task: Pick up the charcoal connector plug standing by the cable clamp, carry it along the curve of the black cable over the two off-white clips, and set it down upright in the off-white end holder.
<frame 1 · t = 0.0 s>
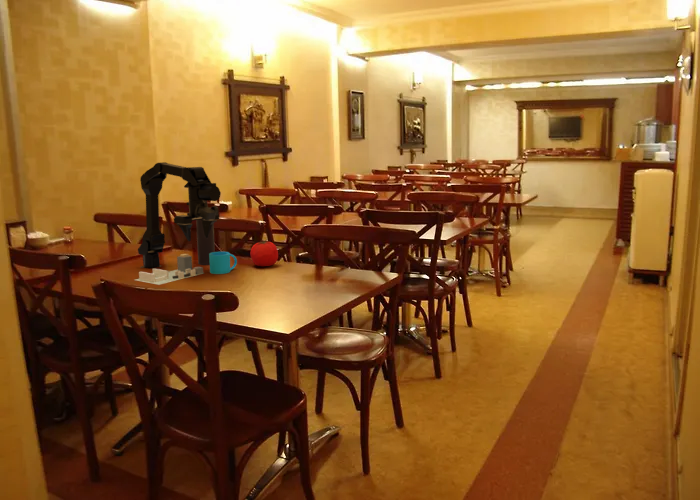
hand: (198, 239, 233), 15 cm above the table, fingers open, 9 cm apart
route board: (170, 277, 232), on the table
cable: (184, 275, 232), on the route board, point 1 cm above the table
tomato: (264, 266, 254), on the table
connector: (185, 270, 242), point 1 cm above the table, touching route board
mug: (224, 273, 242), on the table
wine bottle: (206, 265, 257), on the table
holder: (154, 279, 227), resting on route board
clamp and clips: (188, 272, 233), on the route board, point 1 cm above the table
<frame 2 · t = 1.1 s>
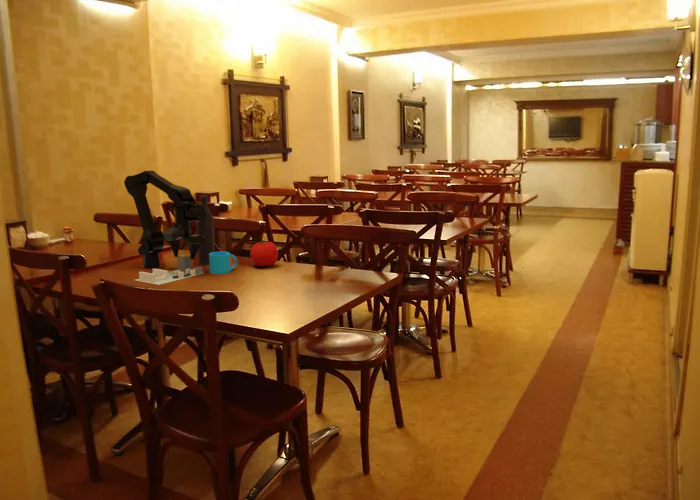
hand: (184, 258, 241), 6 cm above the table, fingers open, 9 cm apart
nothing on the table moved.
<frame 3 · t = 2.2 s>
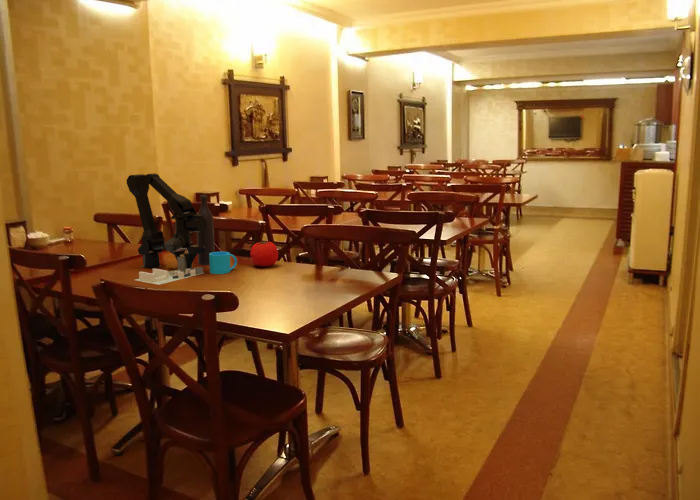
hand: (184, 268, 242), 2 cm above the table, fingers closed on connector, 4 cm apart
connector: (185, 270, 242), point 1 cm above the table, touching gripper, route board
everything else where it was.
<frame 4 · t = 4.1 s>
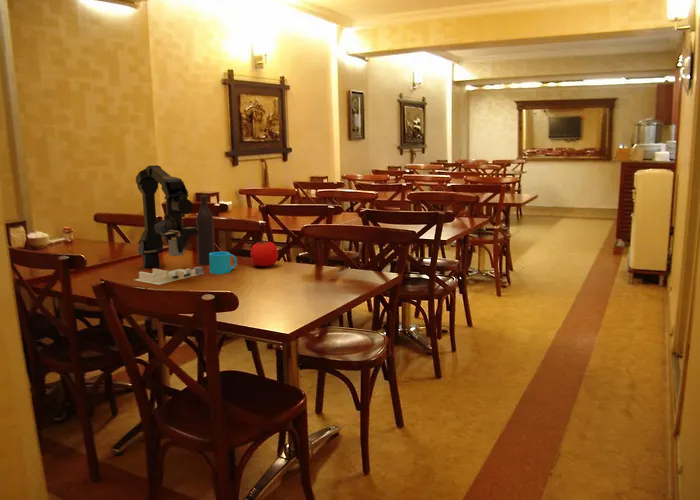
hand: (176, 252, 228), 11 cm above the table, fingers closed on connector, 4 cm apart
connector: (176, 254, 229), point 10 cm above the table, touching gripper
everything else where it was.
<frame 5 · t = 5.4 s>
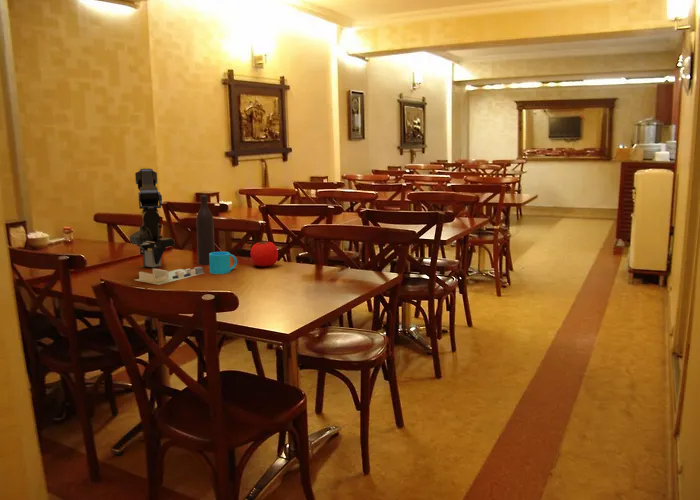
hand: (153, 263, 226), 7 cm above the table, fingers closed on connector, 4 cm apart
connector: (153, 265, 227), point 6 cm above the table, touching gripper
everything else where it was.
when the fingers open (3 cm above the table, at t = 6.4 s): connector drops 1 cm, resting on route board.
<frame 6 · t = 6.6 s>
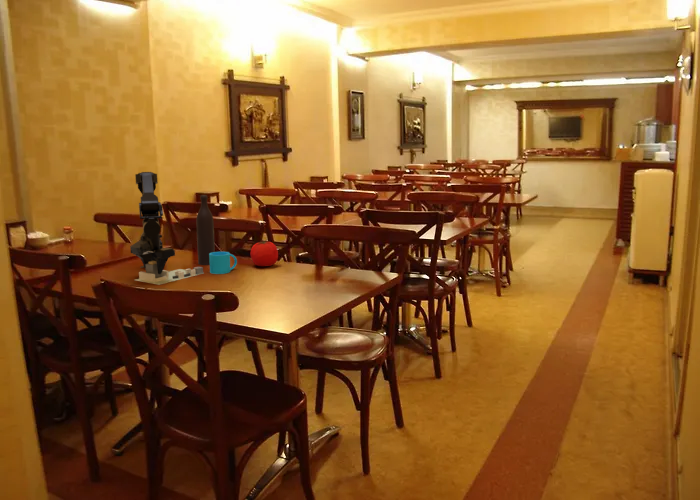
hand: (153, 273, 227), 3 cm above the table, fingers open, 6 cm apart
connector: (154, 279, 228), point 1 cm above the table, touching route board
everything else where it was.
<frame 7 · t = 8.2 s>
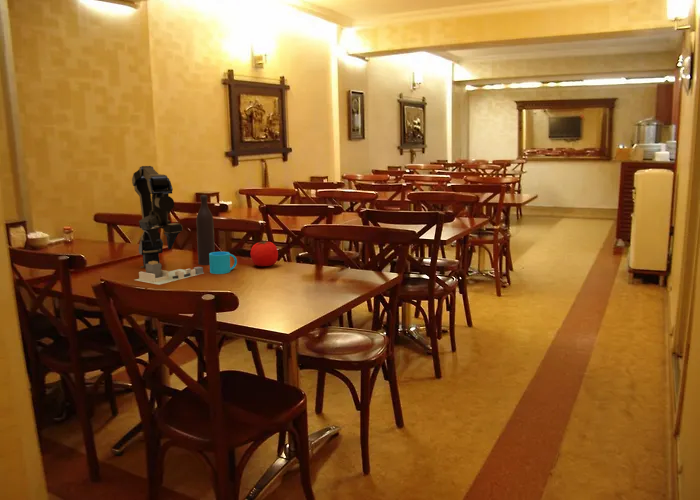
hand: (161, 247, 232), 12 cm above the table, fingers open, 9 cm apart
nothing on the table moved.
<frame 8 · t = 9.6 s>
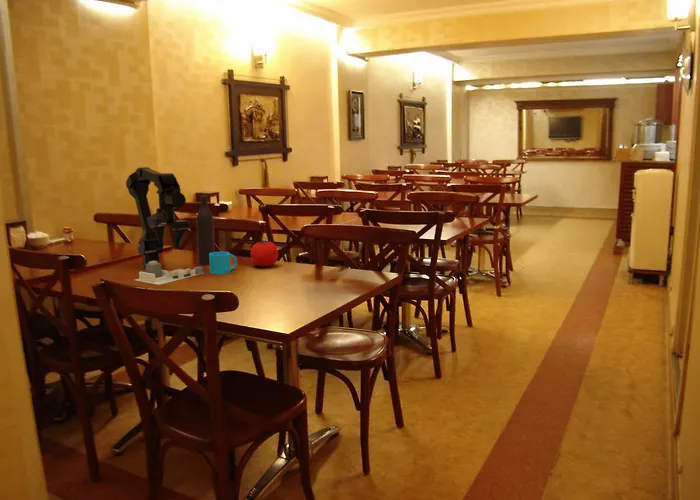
hand: (168, 244, 236), 12 cm above the table, fingers open, 9 cm apart
nothing on the table moved.
at the end: connector 0.0 cm off-centre on the holder, point 0.0 cm above the holder's base; connector tilted 0°; the gripper is holding nothing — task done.
